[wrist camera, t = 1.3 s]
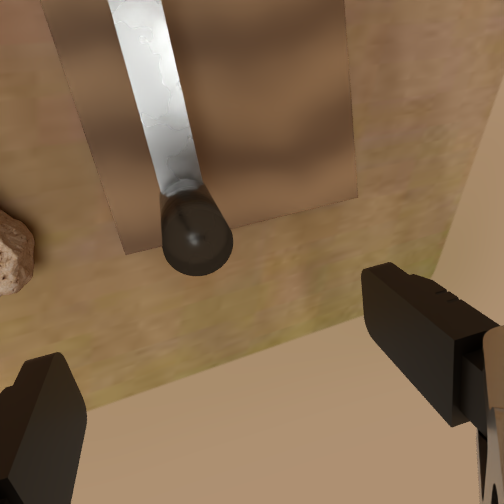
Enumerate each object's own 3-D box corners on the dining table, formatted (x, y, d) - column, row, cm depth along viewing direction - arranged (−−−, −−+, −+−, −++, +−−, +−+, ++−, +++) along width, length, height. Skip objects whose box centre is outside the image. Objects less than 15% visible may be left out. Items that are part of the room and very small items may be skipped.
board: (-38, -245, 19) (-117, -384, 14) (315, -271, 22) (372, -397, 16) (126, 249, 30) (120, 285, 24) (351, 193, 32) (393, 215, 27)
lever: (43, -188, 17) (-44, -409, 10) (126, -196, 18) (107, -412, 10) (161, 226, 25) (165, 285, 17) (217, 212, 26) (245, 264, 18)
